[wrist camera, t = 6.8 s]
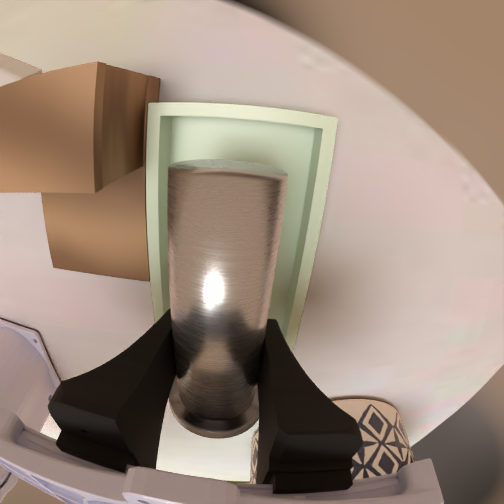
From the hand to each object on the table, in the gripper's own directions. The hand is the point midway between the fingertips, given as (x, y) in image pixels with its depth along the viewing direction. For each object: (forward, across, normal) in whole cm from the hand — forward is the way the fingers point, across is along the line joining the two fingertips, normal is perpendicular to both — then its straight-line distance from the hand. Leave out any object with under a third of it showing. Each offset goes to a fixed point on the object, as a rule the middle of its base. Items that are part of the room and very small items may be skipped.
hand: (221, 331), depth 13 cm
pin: (+1, 0, -2) cm, 2 cm away
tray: (+5, 0, -2) cm, 5 cm away
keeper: (+5, +8, -5) cm, 11 cm away
